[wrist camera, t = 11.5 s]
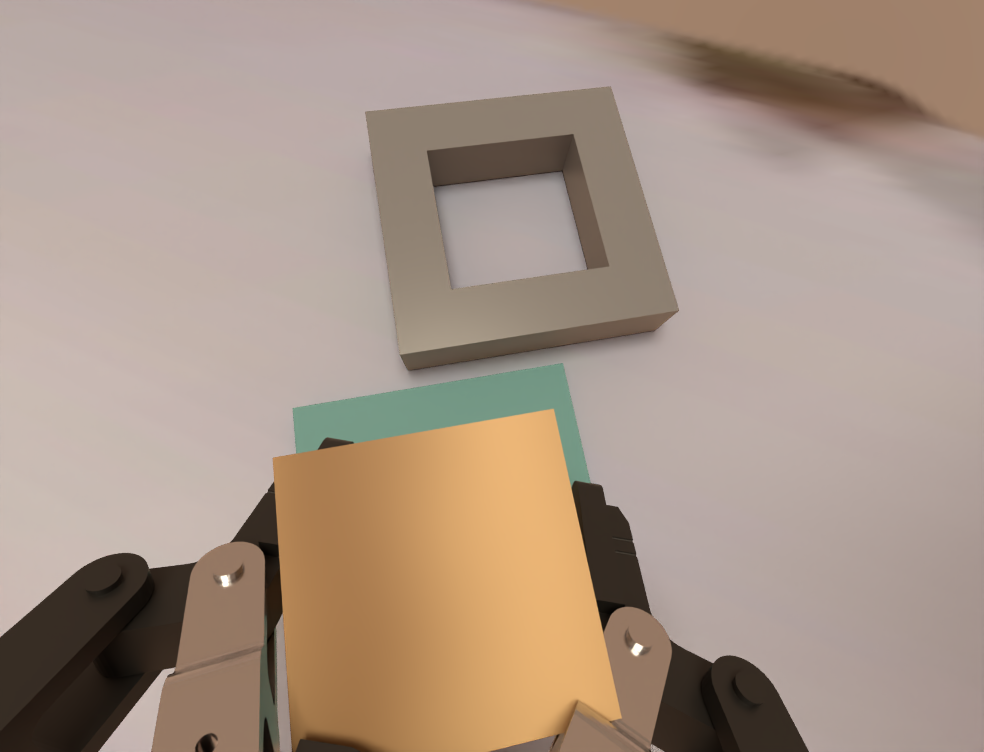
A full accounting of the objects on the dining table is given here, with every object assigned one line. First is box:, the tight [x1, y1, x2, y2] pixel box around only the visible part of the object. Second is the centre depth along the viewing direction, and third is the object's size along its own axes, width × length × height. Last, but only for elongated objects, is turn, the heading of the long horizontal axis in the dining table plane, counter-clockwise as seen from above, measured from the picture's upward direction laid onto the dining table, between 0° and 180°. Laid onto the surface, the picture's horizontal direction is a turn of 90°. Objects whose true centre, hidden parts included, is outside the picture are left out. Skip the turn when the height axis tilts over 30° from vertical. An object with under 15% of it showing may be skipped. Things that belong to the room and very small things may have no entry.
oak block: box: [273, 409, 622, 752], centre depth 12 cm, size 5×5×10 cm
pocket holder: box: [365, 87, 679, 371], centre depth 21 cm, size 12×12×2 cm
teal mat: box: [293, 363, 590, 487], centre depth 18 cm, size 12×12×1 cm
